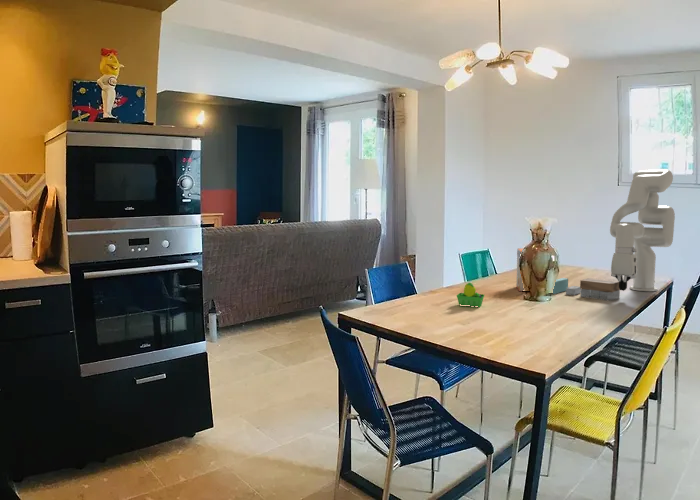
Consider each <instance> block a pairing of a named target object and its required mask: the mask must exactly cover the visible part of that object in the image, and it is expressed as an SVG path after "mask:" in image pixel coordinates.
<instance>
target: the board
mask: <svg viewBox="0 0 700 500" xmlns="http://www.w3.org/2000/svg"><path fill="white" fill-rule="evenodd" d="M579 282H580V283H579V285H580V286H579V287H580V289H588V290H596V291H604V292H615V291H618V290H620V288H619V281H618V280H611V279H601V278H594V277H593V278H592V277H588V278H584V279H580V281H579ZM620 291H621V290H620Z"/></svg>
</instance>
